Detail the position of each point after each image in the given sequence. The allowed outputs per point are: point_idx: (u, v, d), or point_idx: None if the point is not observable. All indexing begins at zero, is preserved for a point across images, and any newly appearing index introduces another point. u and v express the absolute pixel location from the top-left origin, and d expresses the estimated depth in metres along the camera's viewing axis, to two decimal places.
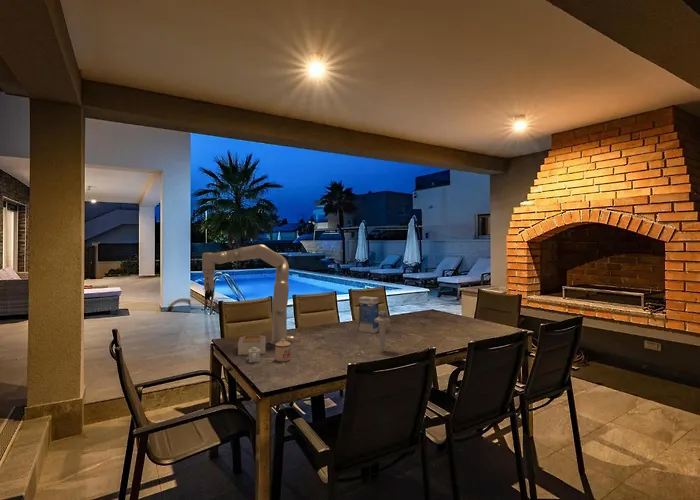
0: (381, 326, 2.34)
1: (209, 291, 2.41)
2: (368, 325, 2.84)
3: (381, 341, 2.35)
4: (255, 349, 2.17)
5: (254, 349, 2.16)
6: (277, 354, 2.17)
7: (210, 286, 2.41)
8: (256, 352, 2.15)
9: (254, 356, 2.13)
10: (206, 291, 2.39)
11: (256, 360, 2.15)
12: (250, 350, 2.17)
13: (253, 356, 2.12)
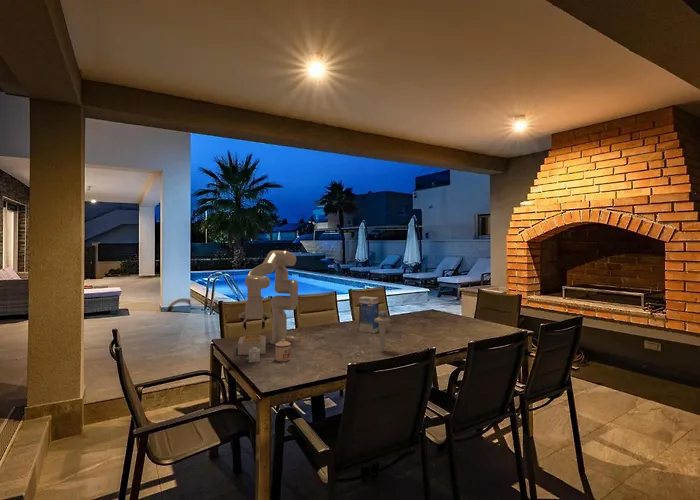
0: (381, 326, 2.34)
1: None
2: (368, 325, 2.84)
3: (381, 341, 2.35)
4: (255, 349, 2.17)
5: (254, 349, 2.16)
6: (277, 354, 2.17)
7: None
8: (256, 352, 2.15)
9: (254, 356, 2.13)
10: (266, 319, 2.18)
11: (256, 360, 2.15)
12: (250, 350, 2.17)
13: (253, 356, 2.12)
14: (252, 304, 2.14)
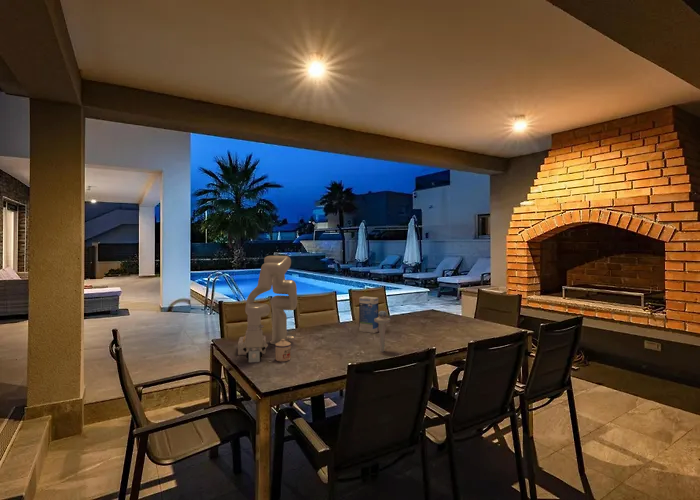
0: (381, 326, 2.34)
1: None
2: (368, 325, 2.84)
3: (381, 341, 2.35)
4: (255, 349, 2.17)
5: (254, 349, 2.16)
6: (277, 354, 2.17)
7: None
8: (256, 352, 2.15)
9: (254, 356, 2.13)
10: None
11: (256, 360, 2.15)
12: (250, 350, 2.17)
13: (253, 356, 2.12)
14: (252, 333, 2.15)
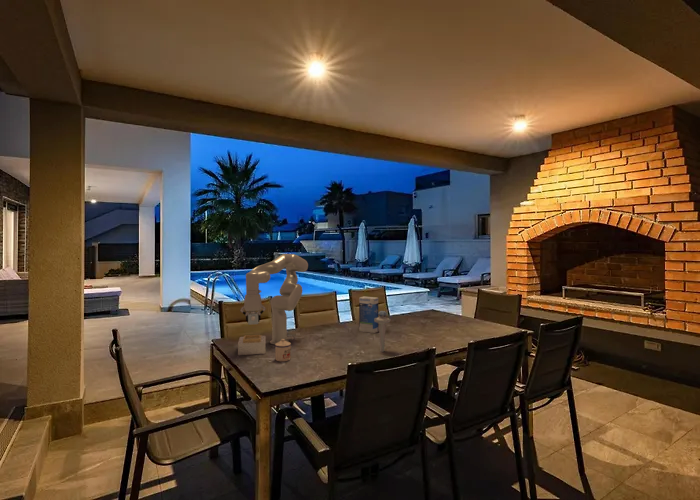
0: (381, 326, 2.34)
1: None
2: (368, 325, 2.84)
3: (381, 341, 2.35)
4: (254, 312, 2.32)
5: (253, 312, 2.32)
6: (277, 354, 2.17)
7: None
8: (255, 315, 2.30)
9: (253, 318, 2.28)
10: (262, 312, 2.34)
11: (255, 322, 2.31)
12: (249, 313, 2.32)
13: (252, 318, 2.28)
14: (251, 297, 2.30)
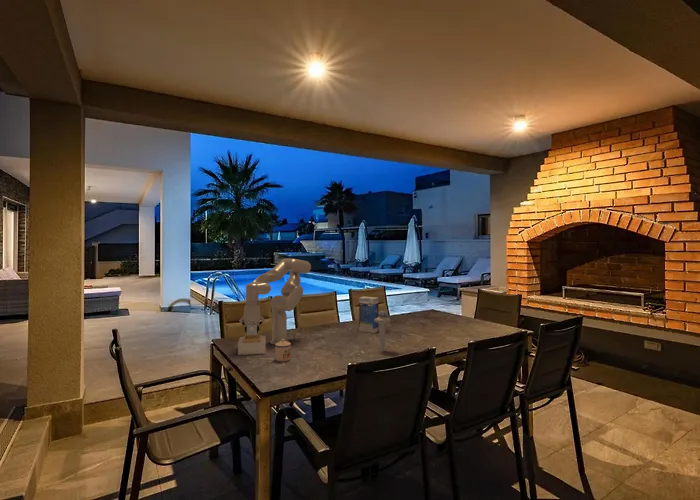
0: (381, 326, 2.34)
1: None
2: (368, 325, 2.84)
3: (381, 341, 2.35)
4: (253, 323, 2.35)
5: (252, 323, 2.35)
6: (277, 354, 2.17)
7: None
8: (253, 325, 2.34)
9: (252, 329, 2.31)
10: (261, 323, 2.37)
11: (253, 333, 2.34)
12: (248, 324, 2.36)
13: (251, 329, 2.31)
14: (250, 308, 2.34)
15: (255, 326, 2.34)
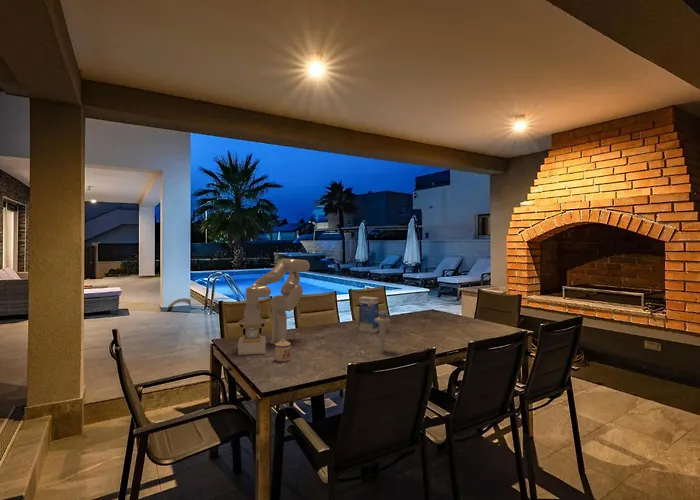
0: (381, 326, 2.34)
1: None
2: (368, 325, 2.84)
3: (381, 341, 2.35)
4: (253, 329, 2.36)
5: (252, 329, 2.35)
6: (277, 354, 2.17)
7: None
8: (254, 331, 2.34)
9: (252, 335, 2.32)
10: (263, 325, 2.38)
11: None
12: (248, 330, 2.36)
13: (251, 335, 2.31)
14: (250, 311, 2.34)
15: (255, 332, 2.34)
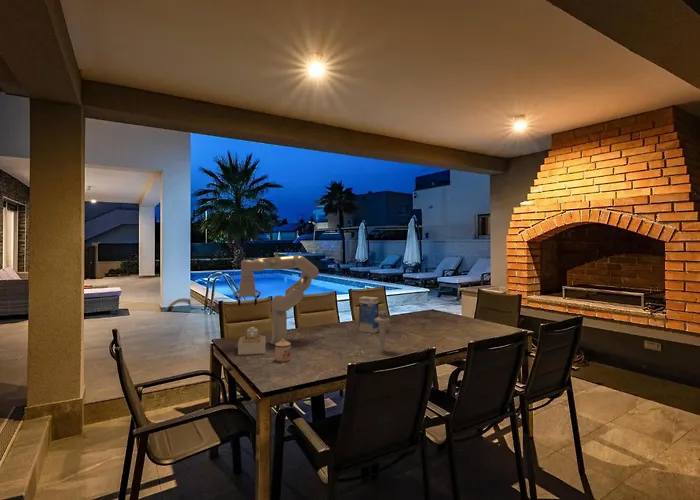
0: (381, 326, 2.34)
1: None
2: (368, 325, 2.84)
3: (381, 341, 2.35)
4: (253, 329, 2.36)
5: (252, 329, 2.35)
6: (277, 354, 2.17)
7: None
8: (254, 331, 2.34)
9: (252, 335, 2.32)
10: None
11: None
12: (248, 330, 2.36)
13: (251, 335, 2.31)
14: (246, 283, 2.42)
15: (255, 332, 2.34)
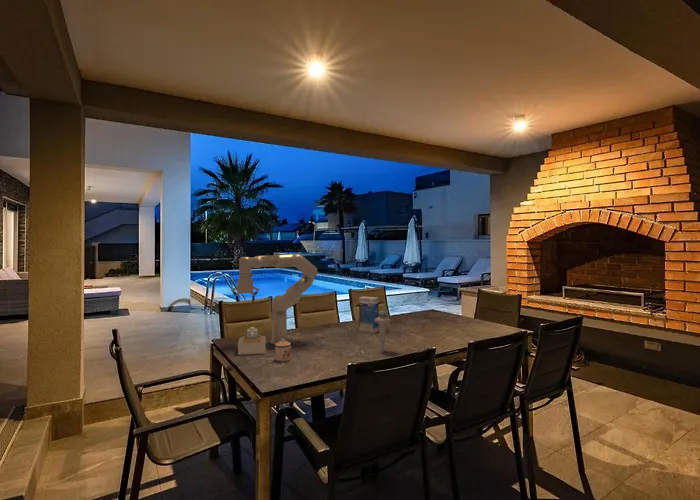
0: (381, 326, 2.34)
1: None
2: (368, 325, 2.84)
3: (381, 341, 2.35)
4: (253, 329, 2.36)
5: (252, 329, 2.35)
6: (277, 354, 2.17)
7: None
8: (254, 331, 2.34)
9: (252, 335, 2.32)
10: (256, 293, 2.50)
11: None
12: (248, 330, 2.36)
13: (251, 335, 2.31)
14: (243, 280, 2.46)
15: (255, 332, 2.34)
